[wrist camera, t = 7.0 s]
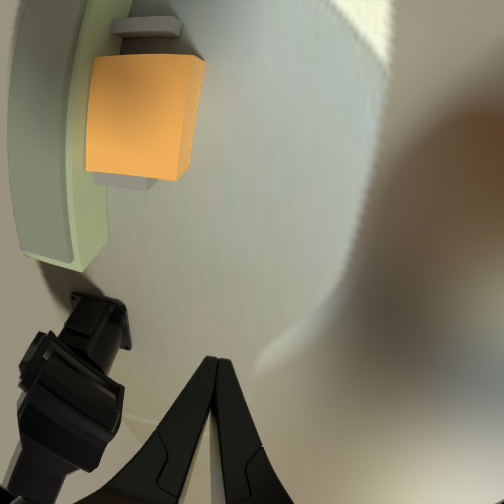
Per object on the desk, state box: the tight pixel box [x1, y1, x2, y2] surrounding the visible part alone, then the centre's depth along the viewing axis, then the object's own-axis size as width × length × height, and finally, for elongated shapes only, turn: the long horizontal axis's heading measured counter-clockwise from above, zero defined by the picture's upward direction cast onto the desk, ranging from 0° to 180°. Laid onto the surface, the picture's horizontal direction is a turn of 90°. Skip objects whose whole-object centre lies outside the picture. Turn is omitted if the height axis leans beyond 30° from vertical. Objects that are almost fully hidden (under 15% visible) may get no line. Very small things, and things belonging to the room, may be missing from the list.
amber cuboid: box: [86, 54, 206, 181], centre depth 14 cm, size 7×6×4 cm
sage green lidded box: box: [7, 0, 183, 272], centre depth 13 cm, size 22×10×5 cm, turn 168°
